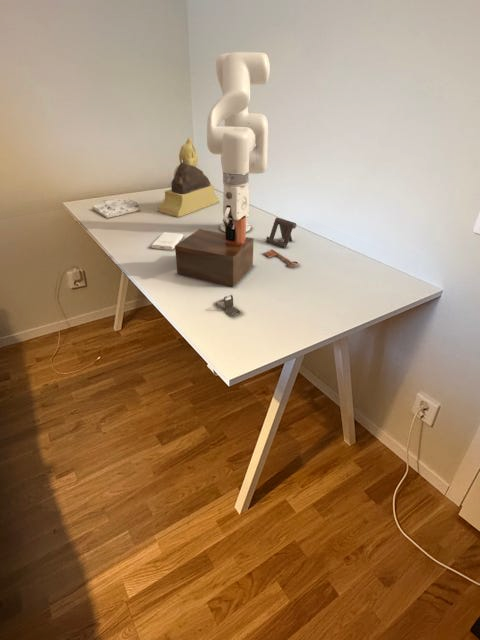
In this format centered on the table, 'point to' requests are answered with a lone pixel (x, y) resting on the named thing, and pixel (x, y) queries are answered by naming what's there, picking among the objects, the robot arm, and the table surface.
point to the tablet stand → (282, 232)
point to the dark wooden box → (213, 258)
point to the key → (273, 253)
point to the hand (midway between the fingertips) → (235, 236)
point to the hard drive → (167, 241)
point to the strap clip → (228, 305)
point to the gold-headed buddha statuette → (188, 186)
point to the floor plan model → (116, 207)
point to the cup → (238, 231)
